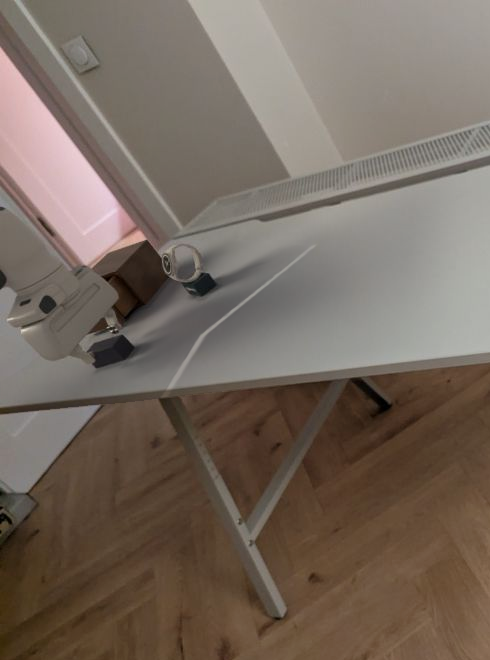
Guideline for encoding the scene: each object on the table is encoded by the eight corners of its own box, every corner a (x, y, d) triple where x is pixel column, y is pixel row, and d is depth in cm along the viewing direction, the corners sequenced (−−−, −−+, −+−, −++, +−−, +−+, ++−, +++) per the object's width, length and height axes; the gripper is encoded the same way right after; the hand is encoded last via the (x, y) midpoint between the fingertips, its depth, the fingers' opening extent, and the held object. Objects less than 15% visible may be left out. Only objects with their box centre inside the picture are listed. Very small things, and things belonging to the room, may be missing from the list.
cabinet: (145, 304, 124) (116, 270, 118) (104, 317, 126) (74, 284, 121) (172, 272, 135) (147, 239, 130) (134, 284, 138) (107, 252, 132)
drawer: (112, 336, 113) (84, 307, 109) (72, 349, 115) (44, 321, 111) (151, 290, 128) (128, 262, 123) (115, 301, 130) (91, 275, 125)
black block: (95, 368, 106) (82, 355, 104) (106, 355, 109) (93, 342, 107) (125, 359, 105) (112, 346, 103) (134, 347, 108) (122, 333, 106)
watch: (182, 299, 119) (149, 257, 112) (211, 278, 123) (180, 236, 117) (194, 302, 116) (161, 259, 109) (223, 280, 120) (193, 237, 113)
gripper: (69, 264, 106) (119, 318, 114) (0, 327, 90) (63, 384, 98) (95, 255, 104) (143, 311, 113) (29, 317, 89) (91, 376, 97)
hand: (106, 345), depth 105 cm, fingers open, 8 cm apart
